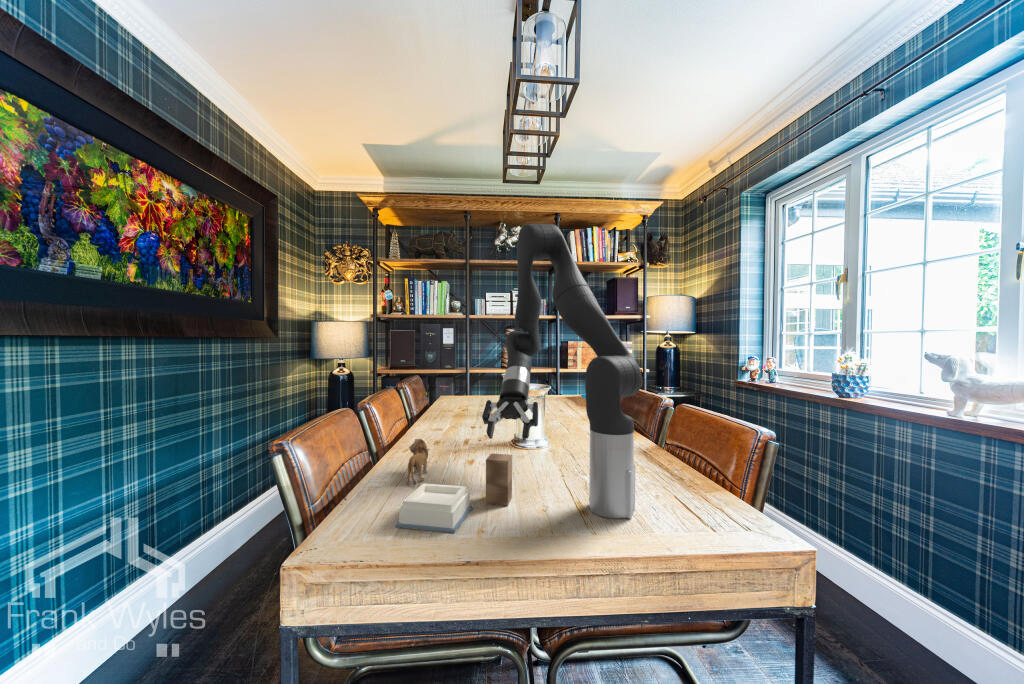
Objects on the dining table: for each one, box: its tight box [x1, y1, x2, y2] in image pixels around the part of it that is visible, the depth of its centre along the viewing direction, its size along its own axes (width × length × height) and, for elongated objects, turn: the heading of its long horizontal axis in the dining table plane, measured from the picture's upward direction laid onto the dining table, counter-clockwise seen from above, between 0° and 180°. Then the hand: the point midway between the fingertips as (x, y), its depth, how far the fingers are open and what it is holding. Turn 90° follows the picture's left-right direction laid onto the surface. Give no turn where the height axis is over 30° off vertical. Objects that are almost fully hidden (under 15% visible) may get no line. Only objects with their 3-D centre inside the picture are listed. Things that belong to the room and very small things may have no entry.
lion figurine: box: [405, 438, 429, 486], centre depth 108 cm, size 15×5×9 cm, turn 10°
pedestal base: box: [395, 482, 474, 534], centre depth 84 cm, size 12×12×5 cm
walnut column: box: [485, 452, 513, 507], centre depth 93 cm, size 5×5×10 cm
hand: (506, 437), depth 101 cm, fingers open, 8 cm apart
